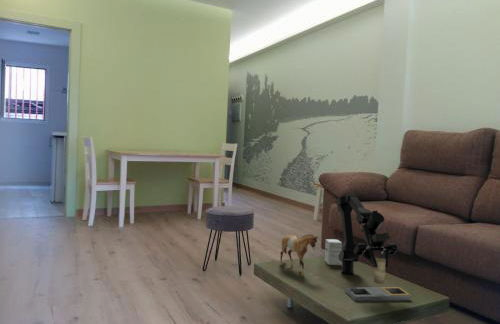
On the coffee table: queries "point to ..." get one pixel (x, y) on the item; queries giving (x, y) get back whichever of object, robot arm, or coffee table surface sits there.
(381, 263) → the peg
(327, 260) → the supplement box
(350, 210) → the robot arm
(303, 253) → the horse figurine
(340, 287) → the coffee table surface
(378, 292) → the board with square holes
